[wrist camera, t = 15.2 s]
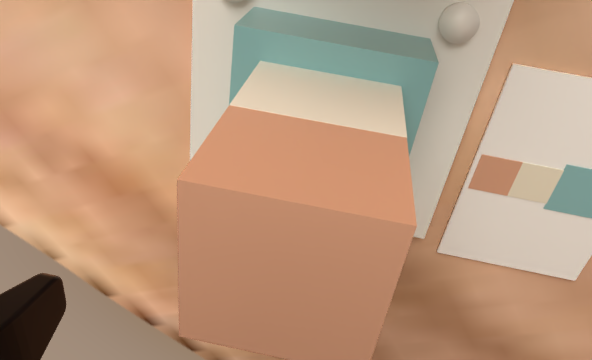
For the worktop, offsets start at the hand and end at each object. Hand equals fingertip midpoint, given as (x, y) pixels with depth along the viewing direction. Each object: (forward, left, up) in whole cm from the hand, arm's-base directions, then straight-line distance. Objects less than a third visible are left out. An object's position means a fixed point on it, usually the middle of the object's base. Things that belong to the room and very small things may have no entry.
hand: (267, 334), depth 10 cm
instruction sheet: (-11, +2, -13) cm, 17 cm away
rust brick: (0, 0, -5) cm, 5 cm away
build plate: (0, 0, -13) cm, 13 cm away
